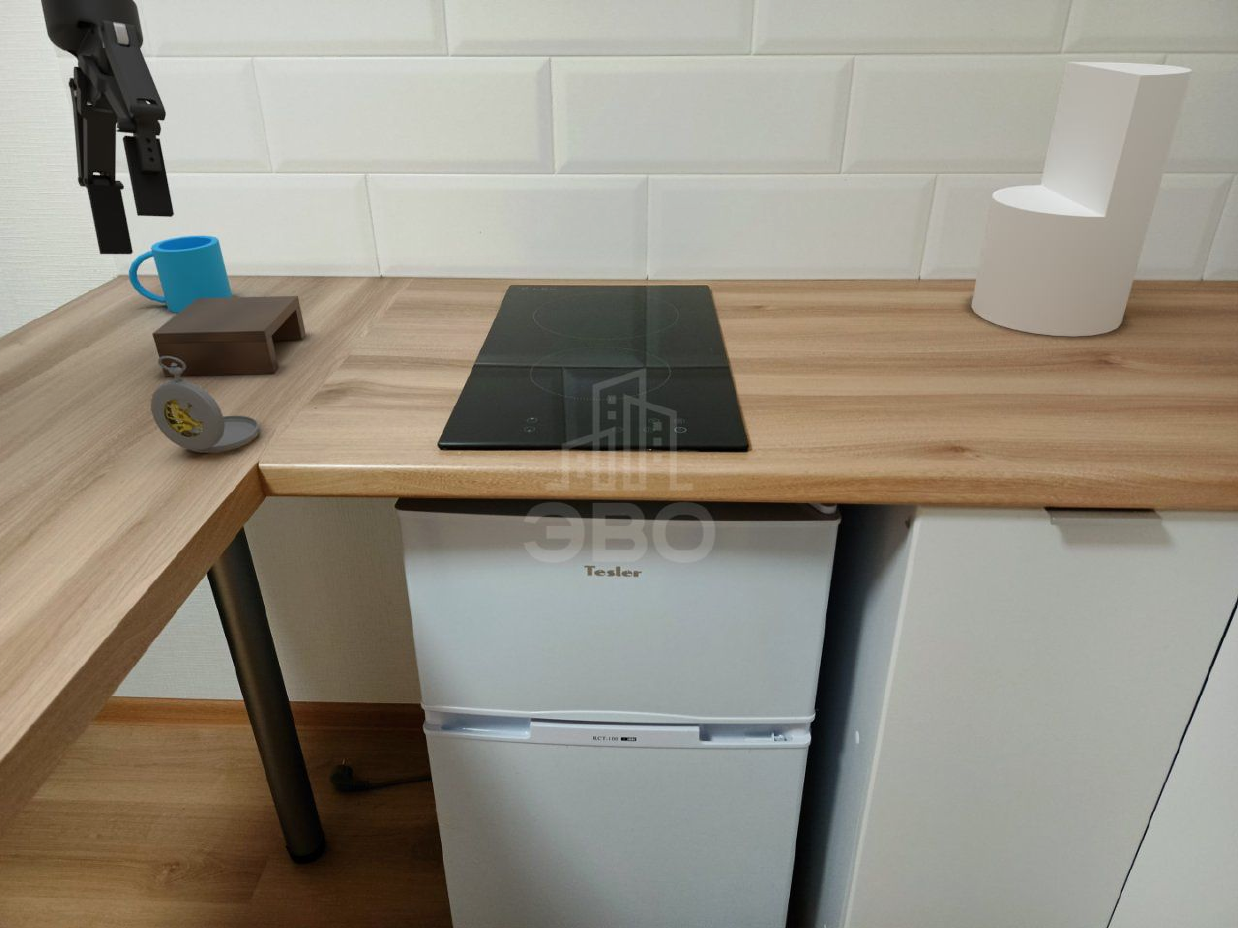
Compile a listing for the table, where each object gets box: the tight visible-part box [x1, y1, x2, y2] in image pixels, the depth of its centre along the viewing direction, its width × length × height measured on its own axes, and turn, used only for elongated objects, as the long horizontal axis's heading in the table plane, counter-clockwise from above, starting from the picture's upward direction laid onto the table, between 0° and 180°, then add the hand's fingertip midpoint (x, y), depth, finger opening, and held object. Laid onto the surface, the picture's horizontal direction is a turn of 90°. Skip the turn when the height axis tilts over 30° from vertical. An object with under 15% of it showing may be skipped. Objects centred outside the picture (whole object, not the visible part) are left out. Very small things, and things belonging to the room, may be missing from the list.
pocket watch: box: [150, 356, 260, 454], centre depth 77 cm, size 8×8×10 cm
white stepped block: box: [970, 61, 1193, 337], centre depth 101 cm, size 17×17×28 cm
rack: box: [152, 295, 307, 377], centre depth 99 cm, size 12×12×5 cm
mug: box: [128, 235, 233, 314], centre depth 114 cm, size 12×8×8 cm
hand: (135, 236), depth 79 cm, fingers open, 13 cm apart
